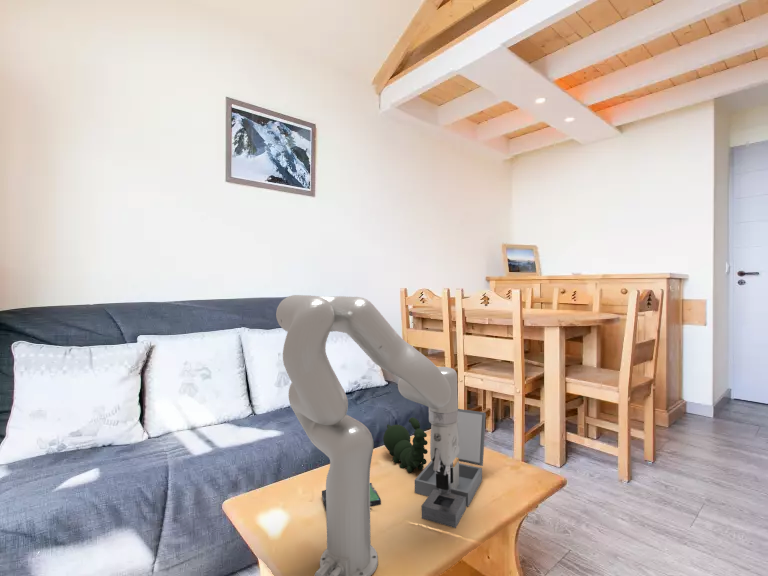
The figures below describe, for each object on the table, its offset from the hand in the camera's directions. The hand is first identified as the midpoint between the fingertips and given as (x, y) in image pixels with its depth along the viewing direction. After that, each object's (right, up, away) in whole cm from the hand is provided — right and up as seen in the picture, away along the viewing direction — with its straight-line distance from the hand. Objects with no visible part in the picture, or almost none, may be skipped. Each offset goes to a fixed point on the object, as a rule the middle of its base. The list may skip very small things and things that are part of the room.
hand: (444, 484), depth 101 cm
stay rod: (0, -2, 0) cm, 2 cm away
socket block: (0, -8, 0) cm, 8 cm away
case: (+3, -8, +13) cm, 16 cm away
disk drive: (-25, -9, +7) cm, 28 cm away
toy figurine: (-9, -8, +30) cm, 33 cm away
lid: (+8, +5, +22) cm, 24 cm away
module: (+3, -7, +13) cm, 15 cm away
